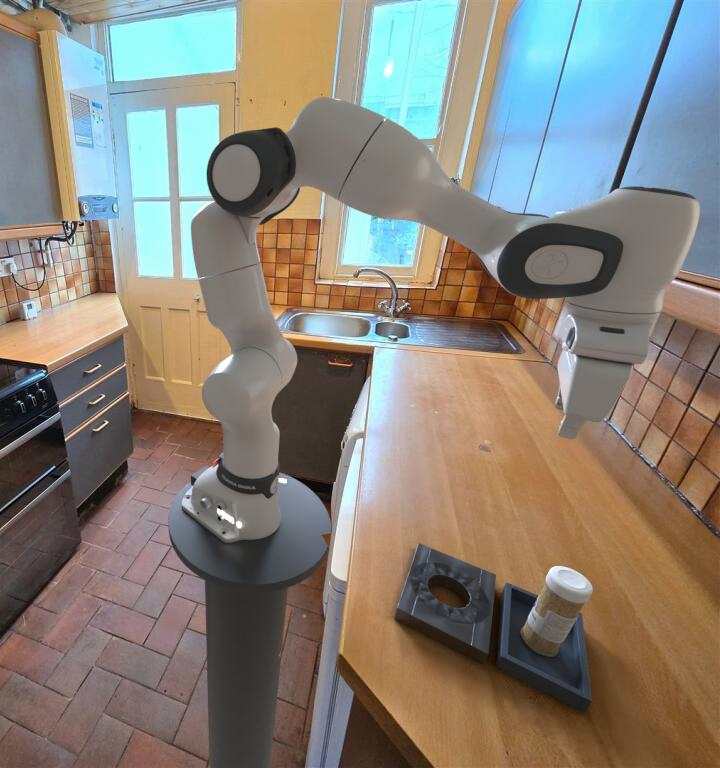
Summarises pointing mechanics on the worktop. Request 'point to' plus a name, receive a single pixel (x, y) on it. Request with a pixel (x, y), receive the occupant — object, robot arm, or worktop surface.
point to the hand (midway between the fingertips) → (563, 421)
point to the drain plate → (443, 622)
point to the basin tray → (548, 674)
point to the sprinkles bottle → (555, 610)
